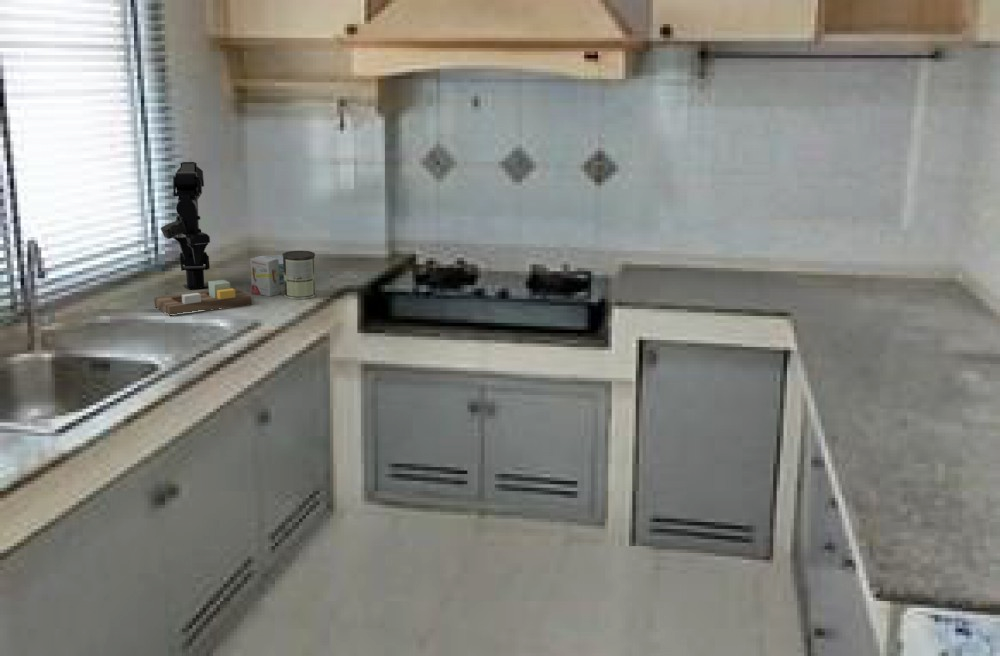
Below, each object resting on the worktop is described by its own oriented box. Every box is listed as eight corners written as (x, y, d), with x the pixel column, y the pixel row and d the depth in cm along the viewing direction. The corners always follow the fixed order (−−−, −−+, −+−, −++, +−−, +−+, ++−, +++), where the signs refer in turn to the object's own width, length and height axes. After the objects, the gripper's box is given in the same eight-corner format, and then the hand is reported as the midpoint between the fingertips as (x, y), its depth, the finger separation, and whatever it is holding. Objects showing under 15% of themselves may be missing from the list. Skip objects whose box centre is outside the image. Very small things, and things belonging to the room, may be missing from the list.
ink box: (250, 292, 325) (249, 257, 322) (261, 290, 329) (260, 255, 326) (269, 296, 321) (268, 261, 318) (280, 293, 325) (279, 258, 322)
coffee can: (277, 295, 323) (276, 253, 319) (304, 290, 330) (303, 249, 326) (295, 301, 316) (294, 258, 312) (322, 296, 323) (321, 254, 319)
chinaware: (244, 279, 343) (243, 258, 341) (284, 274, 352) (283, 253, 350) (262, 288, 332) (261, 266, 330) (303, 283, 340) (302, 261, 338)
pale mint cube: (209, 303, 312) (208, 281, 310) (224, 301, 315) (223, 279, 313) (215, 306, 308) (214, 284, 306) (231, 304, 311) (229, 282, 309)
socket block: (154, 307, 305) (153, 290, 304) (234, 296, 320) (234, 280, 319) (169, 316, 295) (168, 298, 294) (251, 304, 311) (250, 288, 309)
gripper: (152, 210, 312) (156, 259, 316) (173, 219, 297) (176, 269, 302) (187, 208, 318) (190, 255, 322) (209, 216, 304) (212, 265, 308)
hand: (191, 261), depth 314 cm, fingers open, 9 cm apart
